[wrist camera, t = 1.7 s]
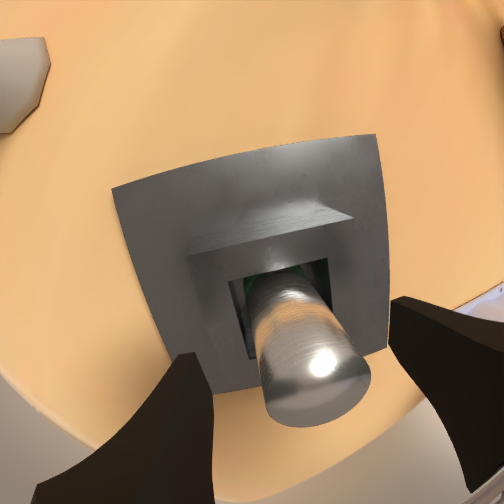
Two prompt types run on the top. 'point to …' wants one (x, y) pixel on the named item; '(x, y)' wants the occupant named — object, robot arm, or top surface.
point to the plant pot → (503, 32)
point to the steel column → (302, 351)
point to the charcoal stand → (259, 245)
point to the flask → (21, 78)
